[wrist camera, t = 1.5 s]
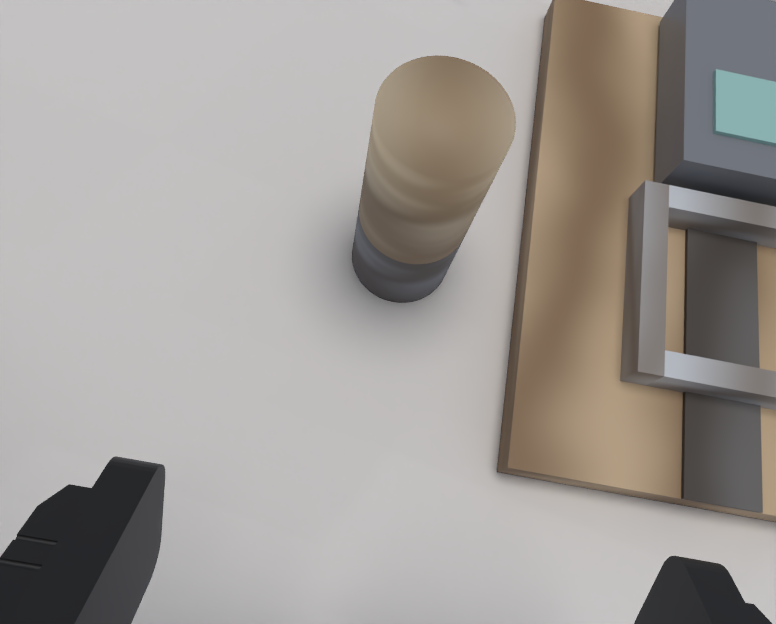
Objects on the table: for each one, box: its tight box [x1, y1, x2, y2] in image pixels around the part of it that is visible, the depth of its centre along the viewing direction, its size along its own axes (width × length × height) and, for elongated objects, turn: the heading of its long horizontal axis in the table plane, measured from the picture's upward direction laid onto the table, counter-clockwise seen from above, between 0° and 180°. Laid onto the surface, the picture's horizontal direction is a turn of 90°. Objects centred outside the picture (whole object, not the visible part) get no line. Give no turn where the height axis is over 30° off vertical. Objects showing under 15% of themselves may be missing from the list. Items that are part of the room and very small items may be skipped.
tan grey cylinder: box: [352, 56, 516, 302], centre depth 24 cm, size 4×4×10 cm
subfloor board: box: [497, 0, 776, 522], centre depth 29 cm, size 16×22×3 cm
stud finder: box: [655, 0, 776, 207], centre depth 29 cm, size 6×9×3 cm, turn 171°
